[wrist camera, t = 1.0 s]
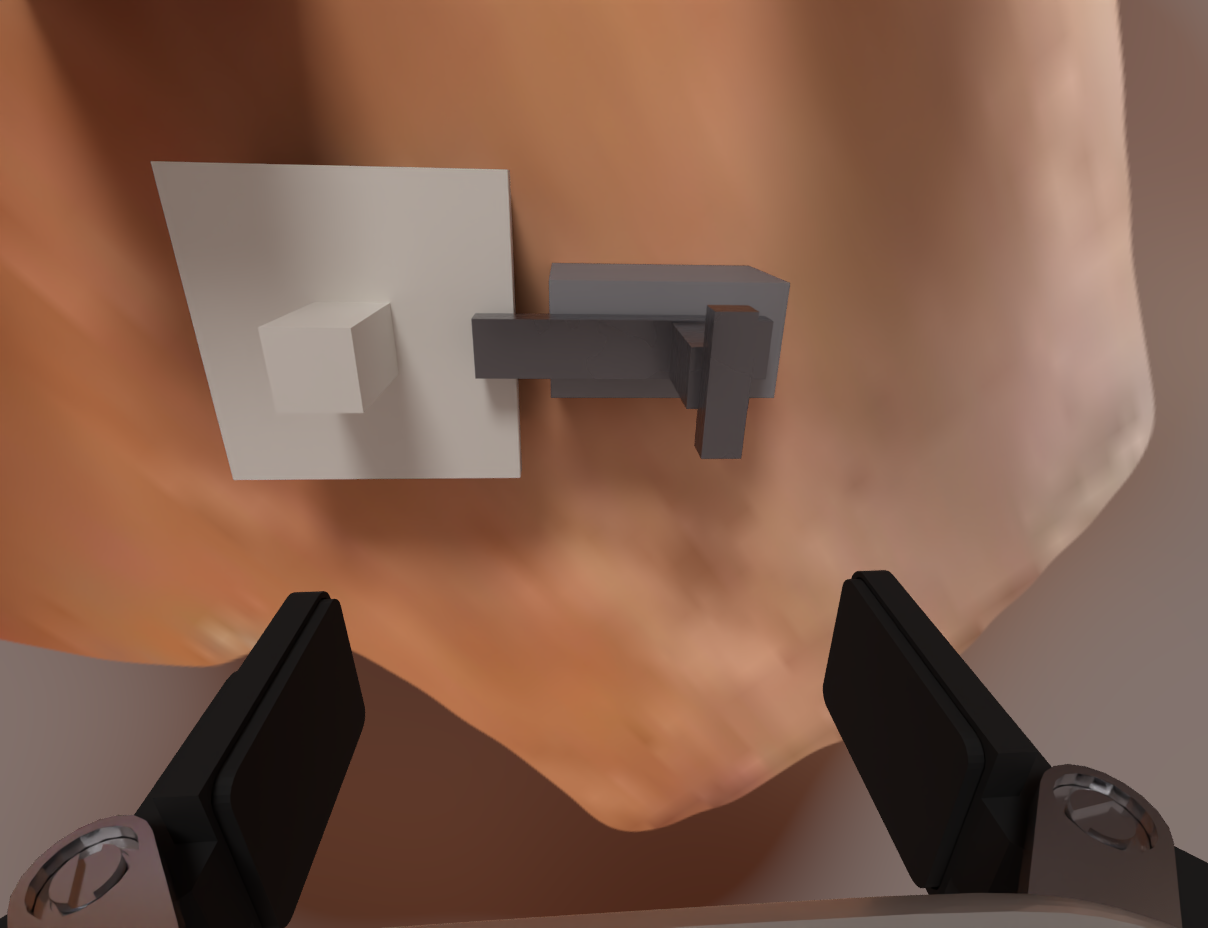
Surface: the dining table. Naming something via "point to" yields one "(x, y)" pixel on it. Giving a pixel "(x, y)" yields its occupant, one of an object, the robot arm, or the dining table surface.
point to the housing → (663, 311)
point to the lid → (348, 315)
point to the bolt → (640, 358)
